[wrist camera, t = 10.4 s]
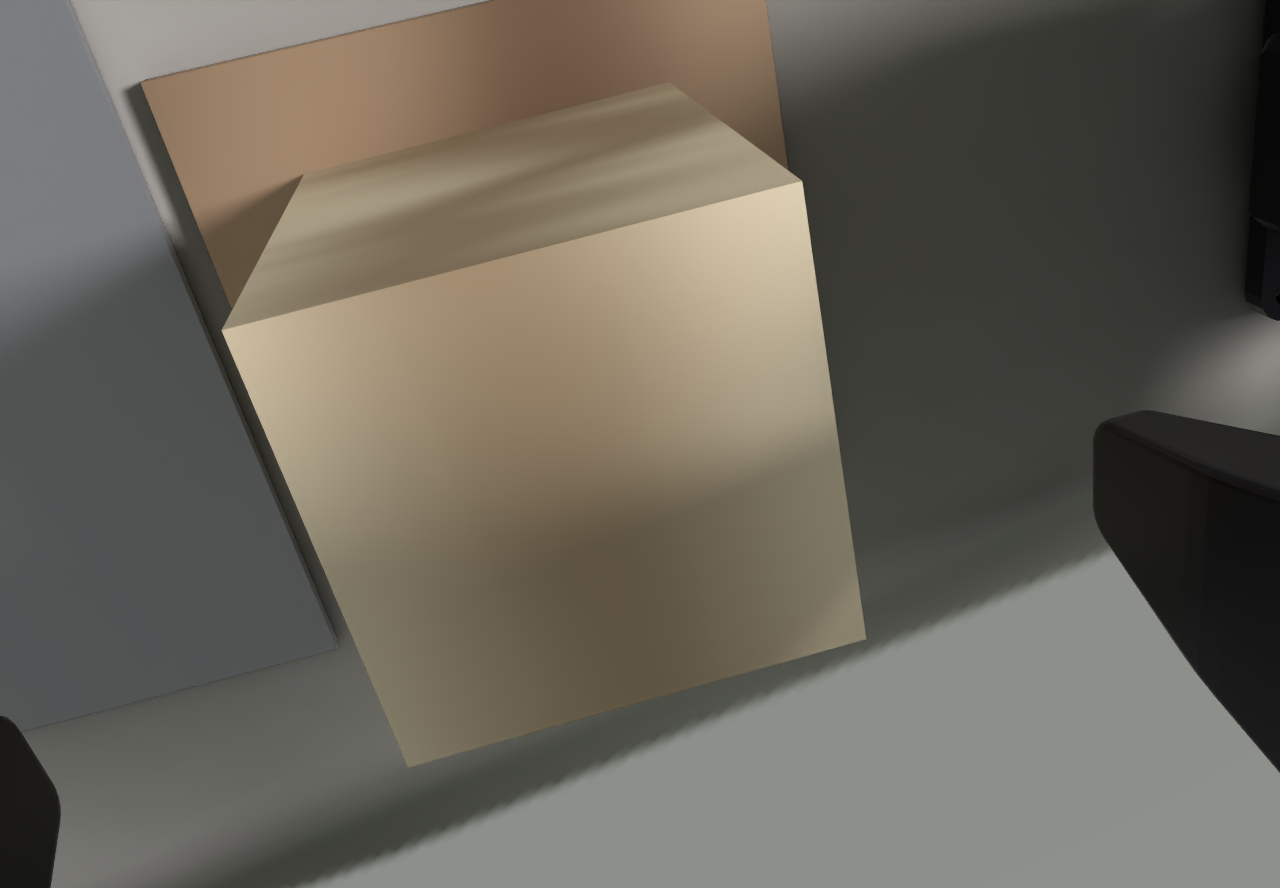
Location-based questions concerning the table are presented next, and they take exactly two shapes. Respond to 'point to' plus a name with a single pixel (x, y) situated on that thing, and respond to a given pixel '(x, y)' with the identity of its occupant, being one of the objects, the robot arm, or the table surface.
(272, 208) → the pad
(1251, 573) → the robot arm
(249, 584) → the tile
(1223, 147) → the table surface
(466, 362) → the birch block
